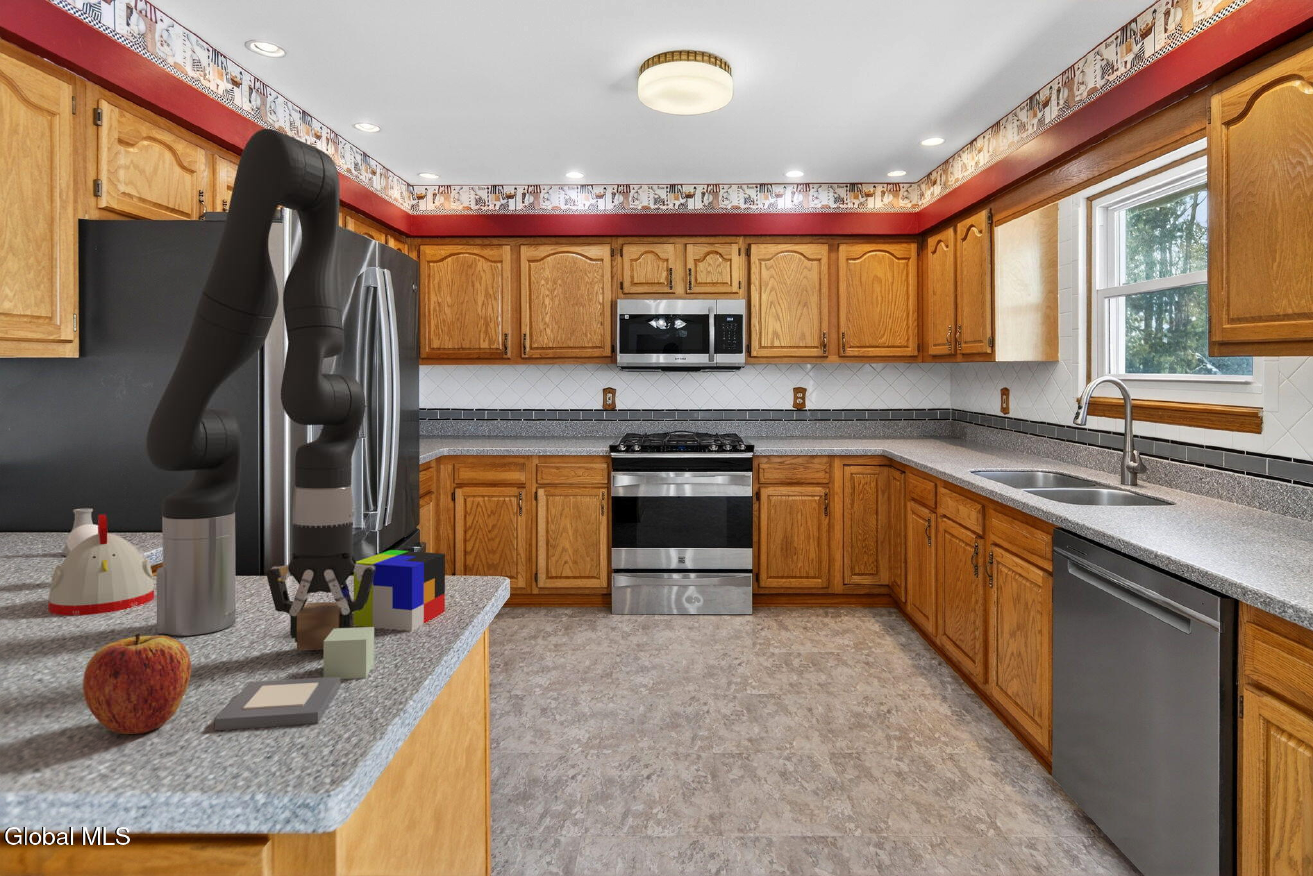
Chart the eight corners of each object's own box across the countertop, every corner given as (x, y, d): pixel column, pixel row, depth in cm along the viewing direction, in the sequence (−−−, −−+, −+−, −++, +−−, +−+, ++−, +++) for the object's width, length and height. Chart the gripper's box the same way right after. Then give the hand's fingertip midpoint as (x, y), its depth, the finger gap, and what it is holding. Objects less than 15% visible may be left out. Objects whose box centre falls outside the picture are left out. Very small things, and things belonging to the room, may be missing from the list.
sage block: (323, 680, 86) (323, 641, 86) (333, 666, 91) (333, 628, 91) (366, 678, 87) (366, 639, 87) (373, 664, 92) (374, 627, 92)
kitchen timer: (48, 621, 107) (46, 524, 107) (48, 601, 117) (47, 513, 117) (158, 605, 116) (157, 517, 116) (149, 588, 127) (148, 507, 126)
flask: (53, 556, 150) (52, 511, 149) (85, 550, 157) (85, 506, 157) (81, 558, 149) (80, 512, 148) (113, 551, 156) (112, 507, 155)
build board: (215, 730, 73) (215, 717, 73) (250, 691, 82) (250, 680, 82) (317, 723, 75) (317, 710, 75) (340, 686, 85) (340, 675, 84)
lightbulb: (103, 577, 134) (102, 520, 133) (114, 582, 130) (114, 524, 130) (63, 583, 129) (62, 524, 128) (73, 588, 125) (72, 528, 125)
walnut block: (296, 650, 93) (297, 613, 93) (307, 637, 98) (307, 602, 98) (336, 648, 94) (336, 612, 94) (345, 636, 99) (345, 602, 99)
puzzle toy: (411, 631, 106) (412, 566, 105) (353, 626, 108) (353, 562, 107) (444, 613, 115) (445, 553, 115) (390, 608, 117) (390, 549, 117)
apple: (68, 755, 67) (66, 653, 67) (100, 716, 75) (98, 626, 75) (180, 739, 71) (179, 642, 70) (198, 704, 79) (197, 617, 79)
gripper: (256, 523, 90) (255, 651, 91) (373, 523, 93) (371, 647, 94) (275, 514, 98) (274, 632, 98) (383, 514, 101) (381, 629, 101)
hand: (321, 639), depth 96 cm, fingers closed on walnut block, 5 cm apart
